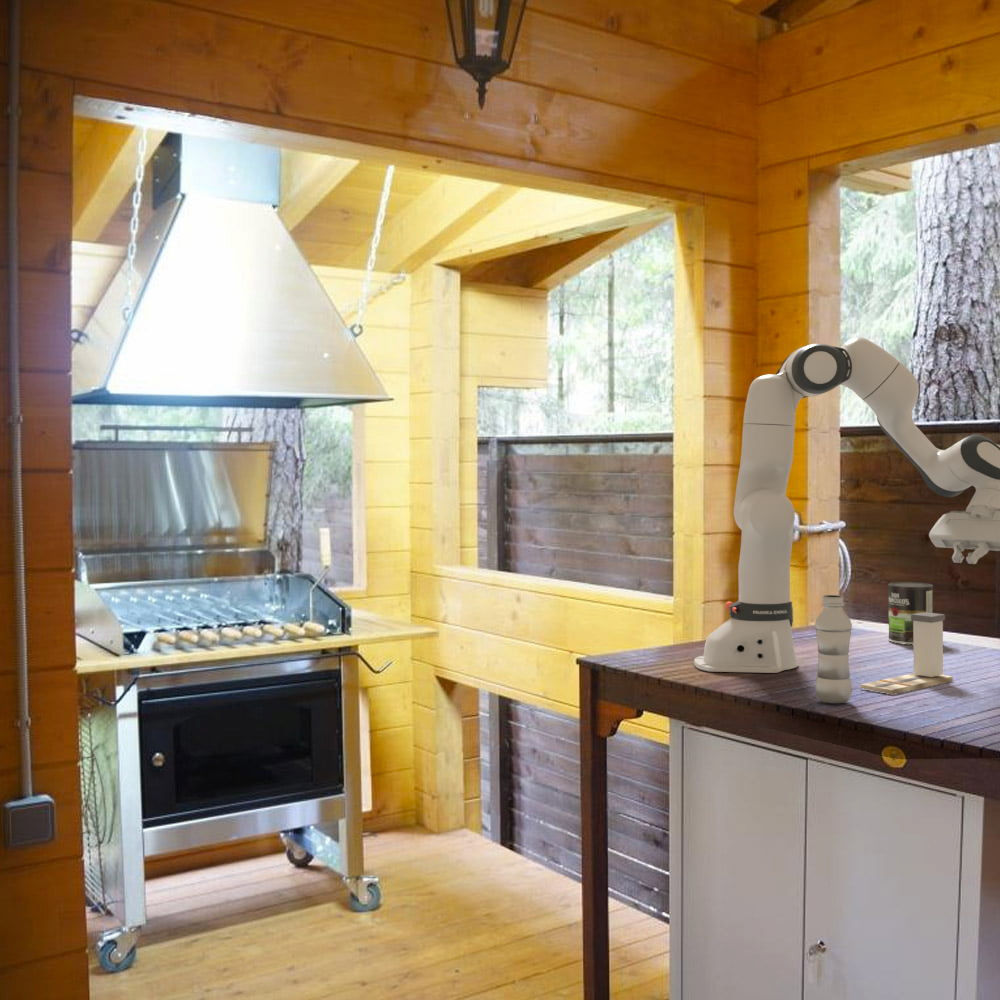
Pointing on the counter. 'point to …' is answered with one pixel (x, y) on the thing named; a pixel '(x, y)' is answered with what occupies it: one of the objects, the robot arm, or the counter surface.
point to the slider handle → (928, 643)
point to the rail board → (906, 683)
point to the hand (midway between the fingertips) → (963, 561)
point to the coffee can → (907, 608)
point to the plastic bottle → (833, 652)
